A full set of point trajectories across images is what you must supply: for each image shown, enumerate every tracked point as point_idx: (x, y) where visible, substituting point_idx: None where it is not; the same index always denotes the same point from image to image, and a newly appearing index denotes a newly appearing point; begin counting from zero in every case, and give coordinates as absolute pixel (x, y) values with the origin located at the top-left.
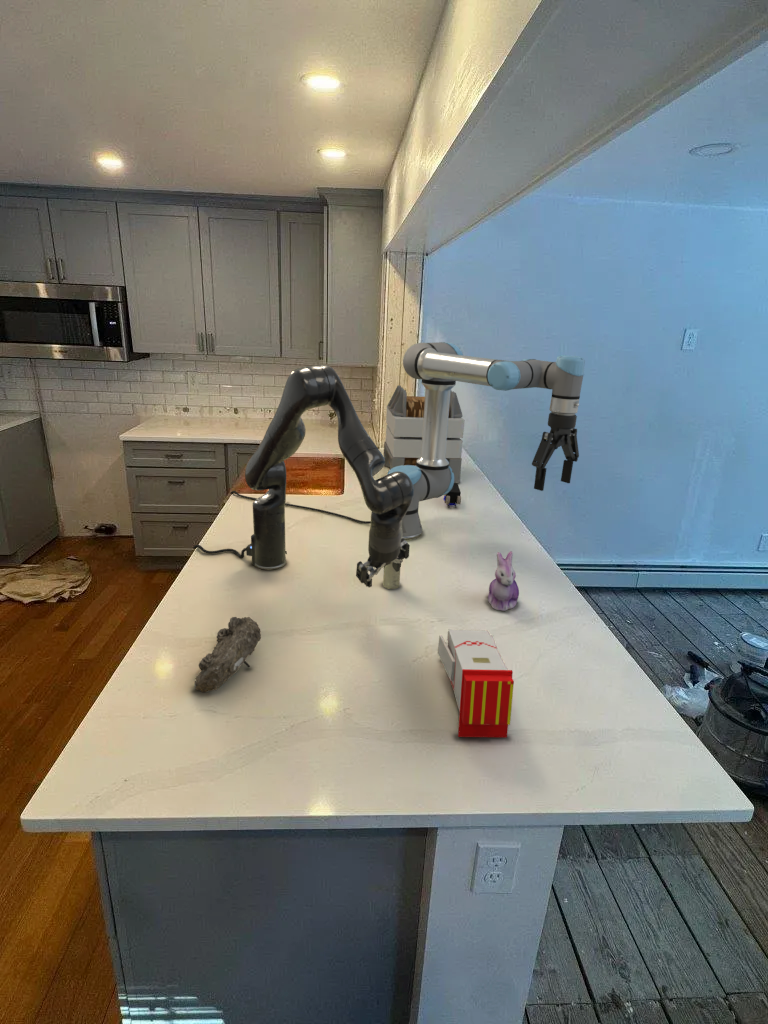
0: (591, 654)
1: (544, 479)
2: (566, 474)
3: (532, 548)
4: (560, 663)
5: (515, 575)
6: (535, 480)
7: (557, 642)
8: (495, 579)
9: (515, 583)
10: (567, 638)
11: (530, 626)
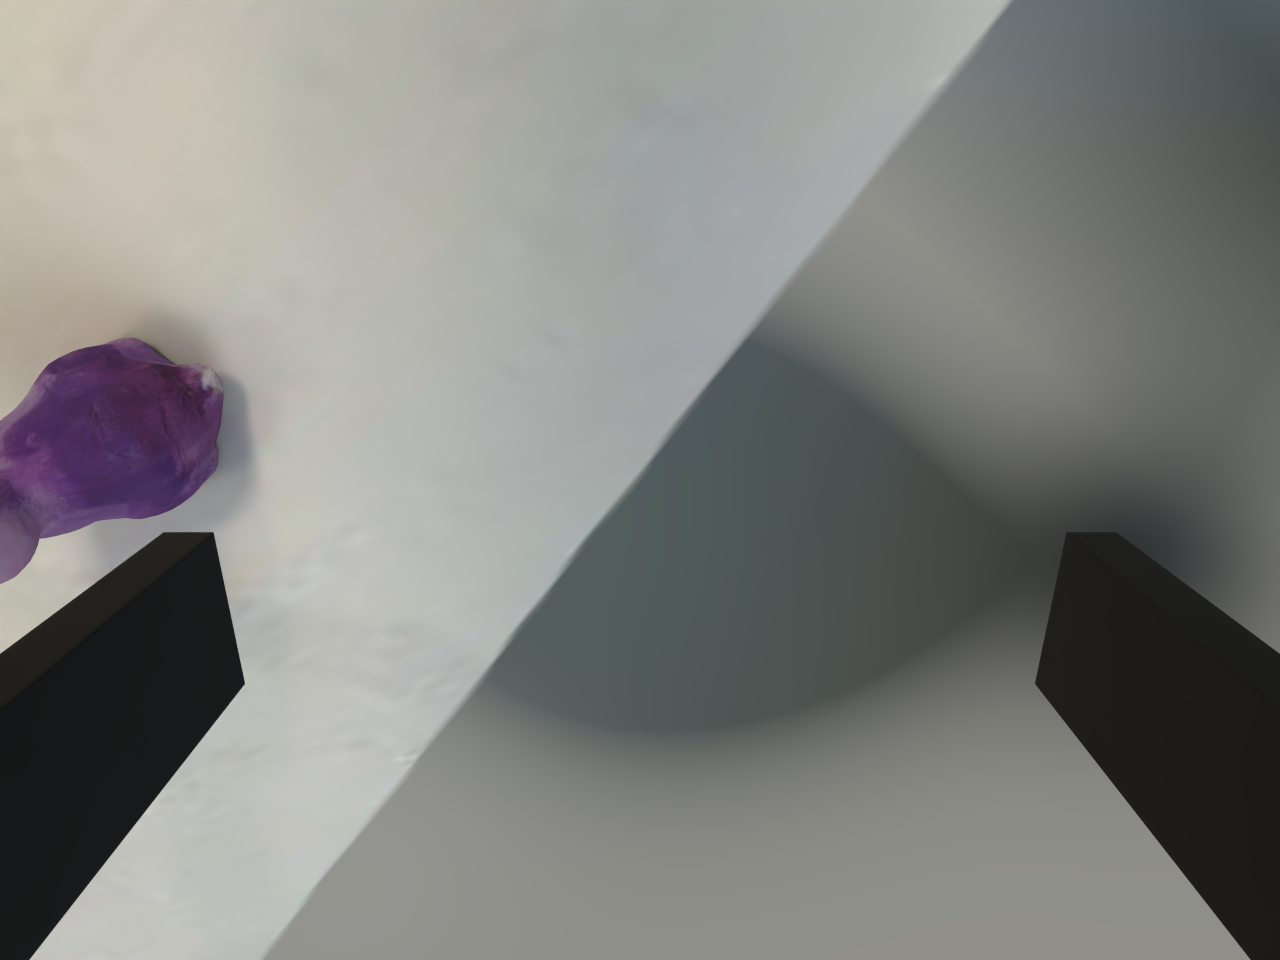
0: (204, 854)
1: (102, 841)
2: (1137, 724)
3: (970, 21)
4: None
5: (4, 580)
6: (52, 630)
7: None
8: (30, 408)
9: (131, 502)
10: (205, 760)
11: None
